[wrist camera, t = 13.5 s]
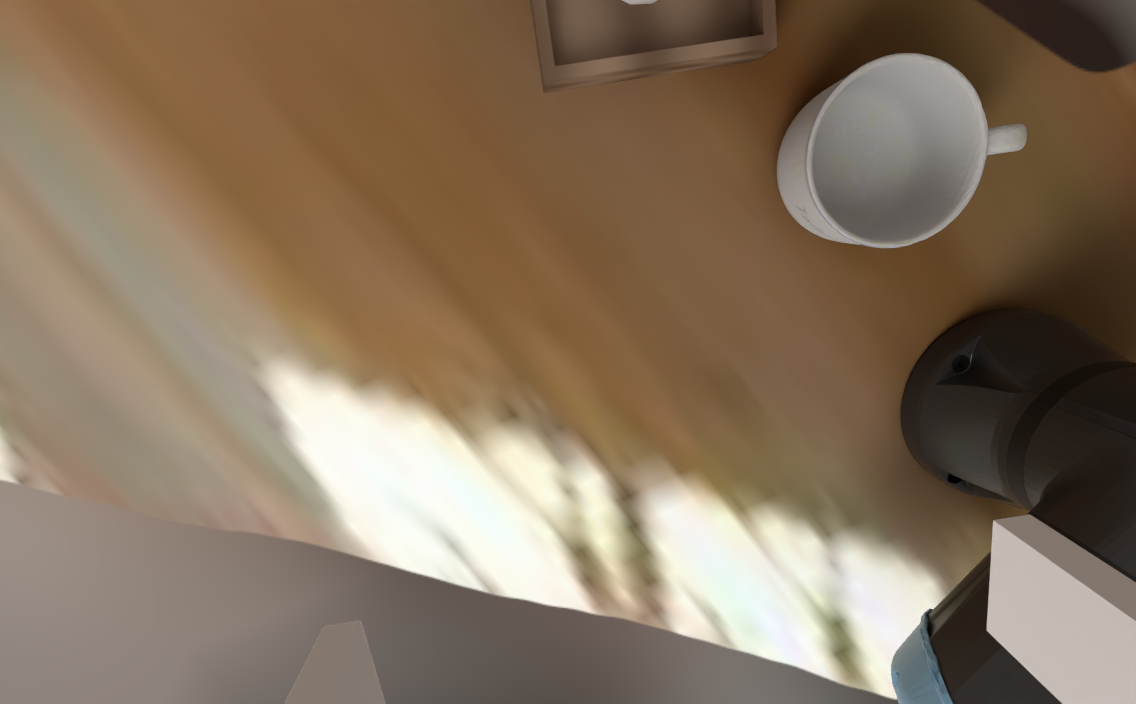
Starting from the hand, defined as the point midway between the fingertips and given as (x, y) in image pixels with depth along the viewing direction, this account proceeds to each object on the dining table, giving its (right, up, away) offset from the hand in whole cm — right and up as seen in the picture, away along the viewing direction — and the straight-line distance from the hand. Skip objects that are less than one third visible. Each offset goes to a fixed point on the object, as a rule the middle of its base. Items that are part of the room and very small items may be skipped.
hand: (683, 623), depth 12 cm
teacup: (+18, +19, +29) cm, 39 cm away
